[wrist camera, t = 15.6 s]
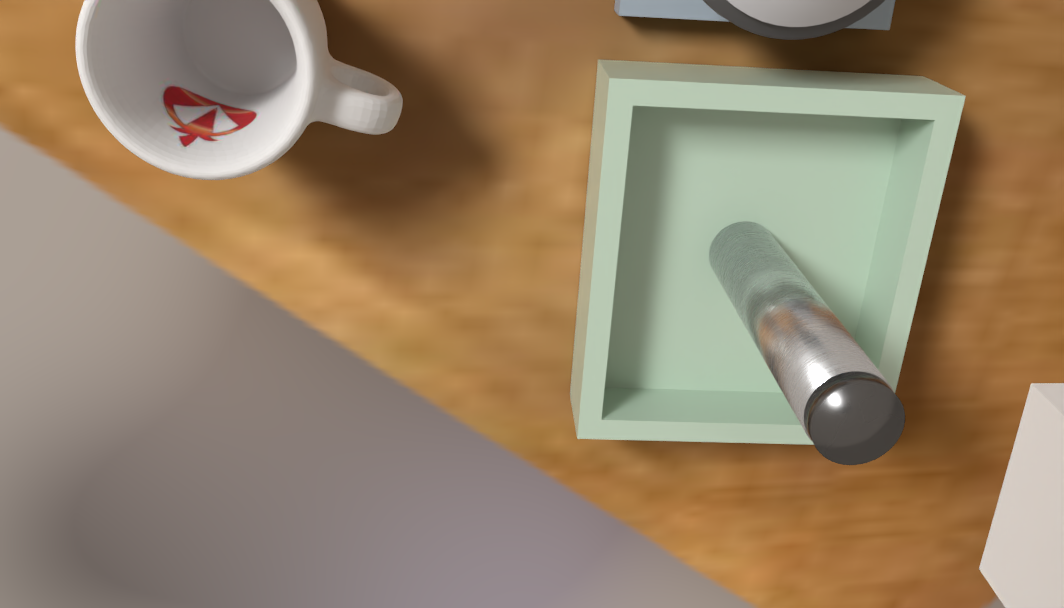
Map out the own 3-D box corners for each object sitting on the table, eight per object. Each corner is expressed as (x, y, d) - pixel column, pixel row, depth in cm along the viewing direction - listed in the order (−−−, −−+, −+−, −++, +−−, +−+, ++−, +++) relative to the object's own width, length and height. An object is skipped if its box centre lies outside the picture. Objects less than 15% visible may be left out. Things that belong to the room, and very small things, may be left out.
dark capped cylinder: (713, 219, 43) (819, 380, 29) (780, 222, 43) (916, 383, 30) (704, 282, 44) (802, 465, 31) (770, 285, 44) (895, 467, 31)
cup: (439, -4, 40) (429, 25, 32) (380, 175, 42) (359, 238, 35) (172, -107, 38) (98, -101, 30) (130, 88, 40) (52, 136, 33)
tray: (598, 59, 41) (609, 78, 37) (923, 76, 42) (965, 95, 38) (570, 394, 47) (577, 438, 44) (852, 402, 48) (882, 446, 45)
